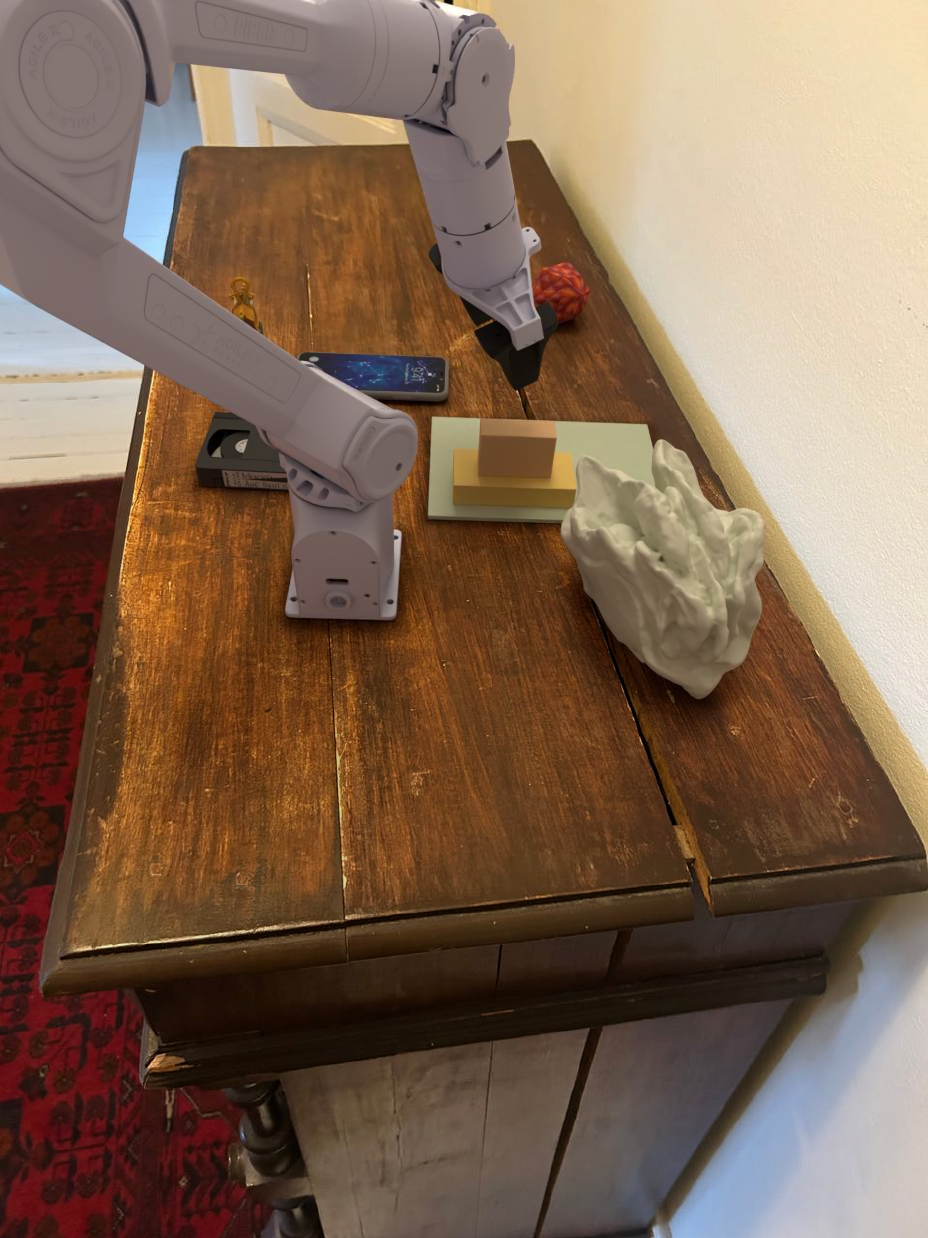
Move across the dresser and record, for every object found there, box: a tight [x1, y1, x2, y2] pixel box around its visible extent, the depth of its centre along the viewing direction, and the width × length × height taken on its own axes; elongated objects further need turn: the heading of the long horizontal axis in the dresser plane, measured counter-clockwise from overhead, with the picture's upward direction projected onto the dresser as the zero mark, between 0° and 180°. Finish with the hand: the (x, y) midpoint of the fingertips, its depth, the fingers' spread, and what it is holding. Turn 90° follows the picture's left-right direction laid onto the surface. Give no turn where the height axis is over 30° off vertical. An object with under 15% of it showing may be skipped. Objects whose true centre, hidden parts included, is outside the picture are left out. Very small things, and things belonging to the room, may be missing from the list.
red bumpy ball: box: [532, 261, 591, 325], centre depth 92 cm, size 6×7×8 cm
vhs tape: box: [194, 411, 289, 492], centre depth 74 cm, size 14×8×2 cm, turn 88°
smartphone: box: [295, 351, 450, 402], centre depth 84 cm, size 7×1×15 cm
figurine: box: [228, 276, 264, 336], centre depth 83 cm, size 3×12×8 cm, turn 9°
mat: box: [427, 416, 655, 524], centre depth 76 cm, size 14×20×1 cm
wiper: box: [453, 417, 576, 508], centre depth 71 cm, size 5×10×6 cm, turn 90°
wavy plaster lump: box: [560, 438, 767, 700], centre depth 60 cm, size 18×13×16 cm
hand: (505, 349), depth 68 cm, fingers open, 7 cm apart
